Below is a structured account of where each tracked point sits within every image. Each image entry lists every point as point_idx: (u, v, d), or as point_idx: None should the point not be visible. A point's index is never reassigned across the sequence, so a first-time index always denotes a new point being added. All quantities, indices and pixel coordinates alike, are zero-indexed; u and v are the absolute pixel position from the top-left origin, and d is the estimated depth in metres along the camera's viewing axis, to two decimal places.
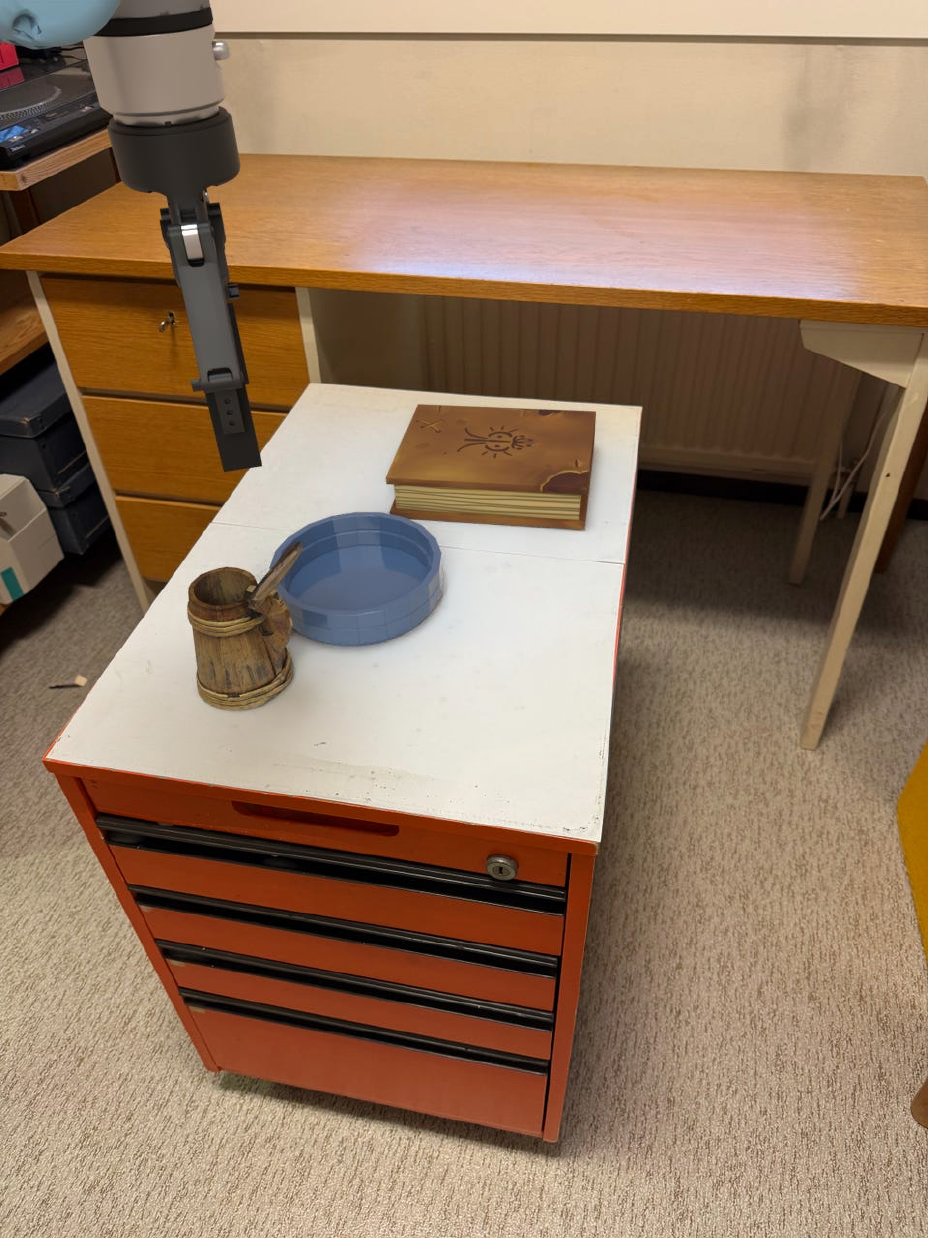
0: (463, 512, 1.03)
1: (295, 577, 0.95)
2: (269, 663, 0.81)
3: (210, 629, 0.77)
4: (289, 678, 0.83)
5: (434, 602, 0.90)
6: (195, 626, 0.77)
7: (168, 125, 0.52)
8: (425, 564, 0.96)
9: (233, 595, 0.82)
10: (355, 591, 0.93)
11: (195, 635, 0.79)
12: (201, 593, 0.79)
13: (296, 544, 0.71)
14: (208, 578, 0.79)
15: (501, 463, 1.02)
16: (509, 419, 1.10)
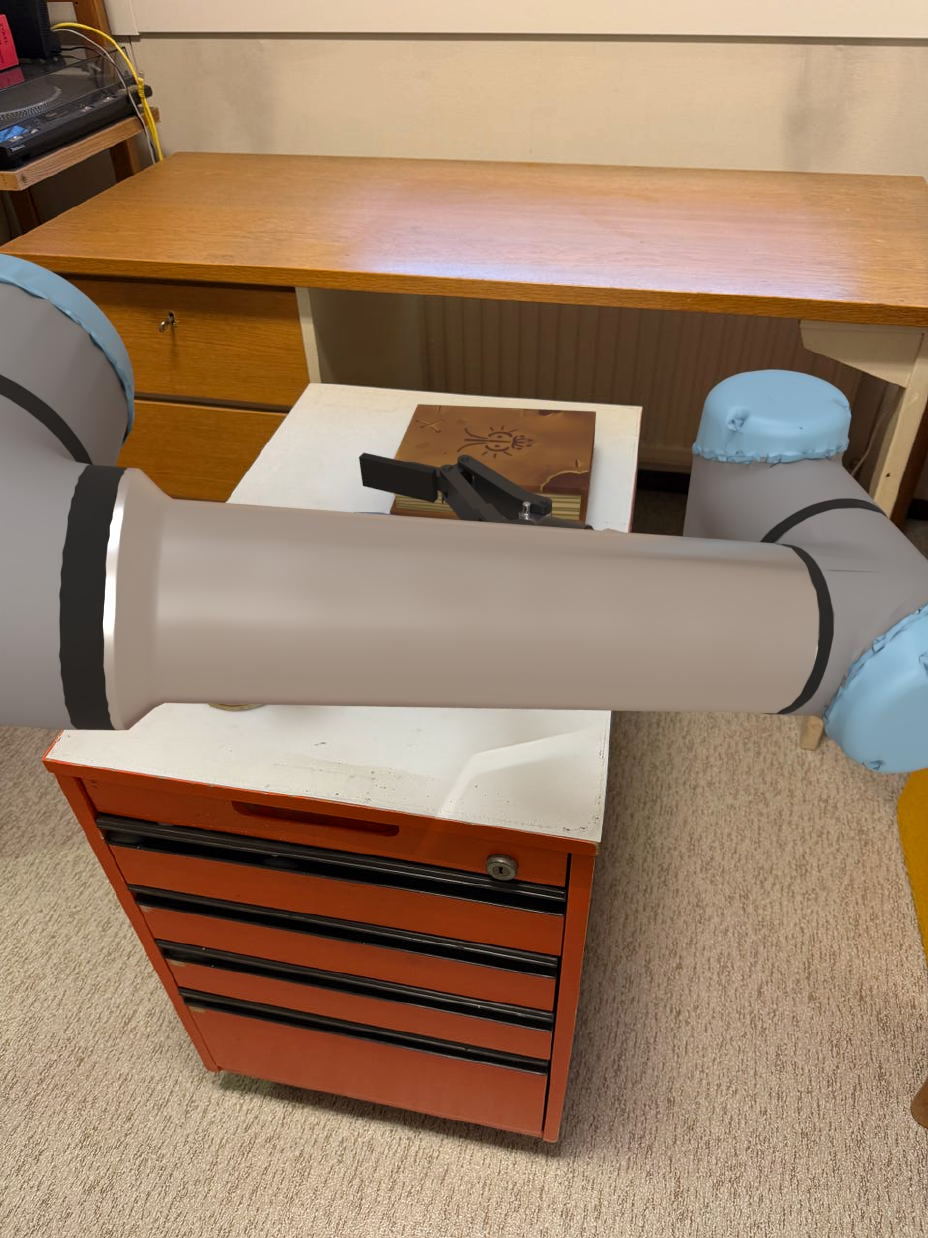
0: None
1: None
2: None
3: None
4: None
5: None
6: None
7: None
8: None
9: None
10: None
11: None
12: None
13: None
14: None
15: (501, 463, 1.02)
16: (509, 419, 1.10)
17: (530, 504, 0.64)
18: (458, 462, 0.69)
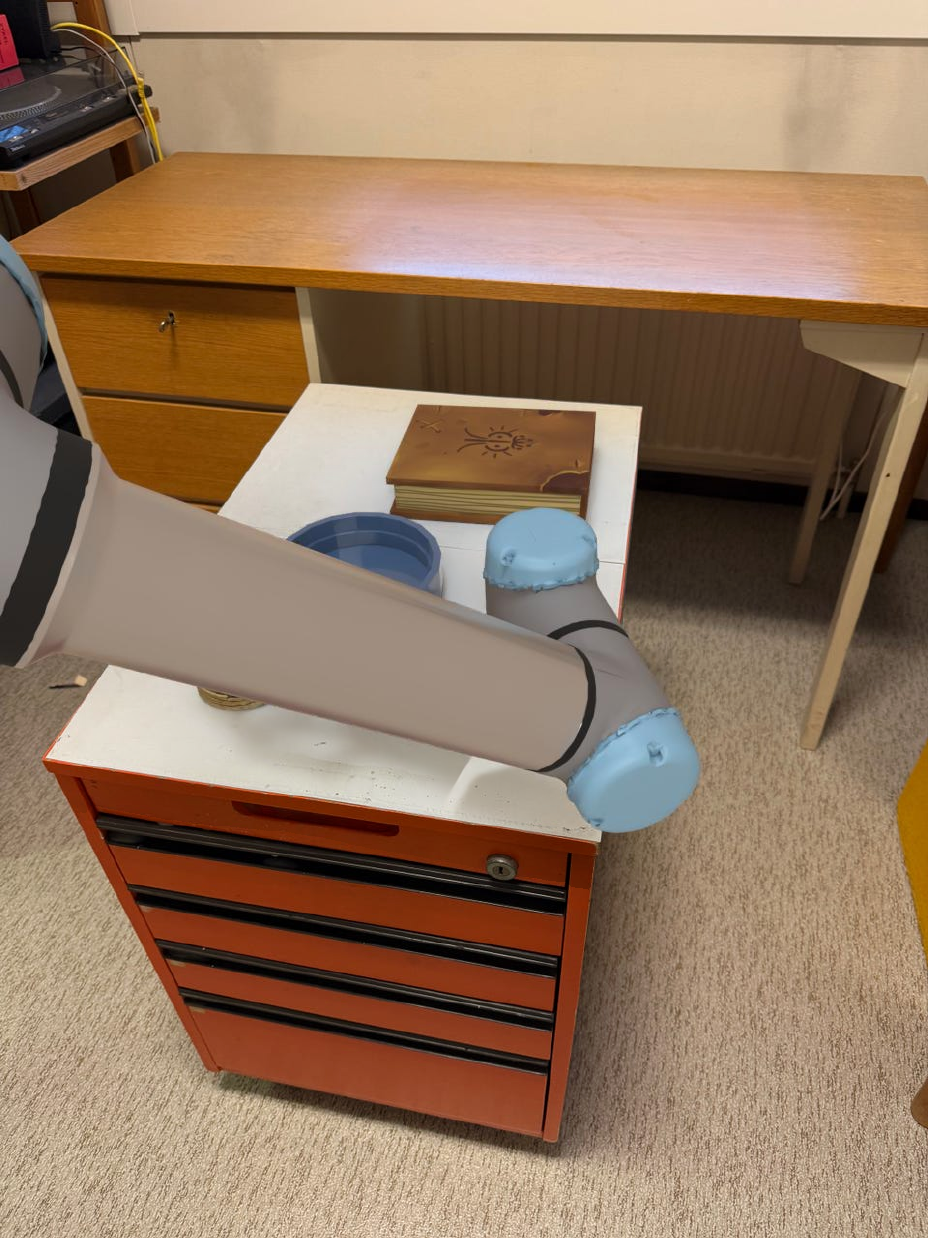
0: (463, 512, 1.03)
1: None
2: None
3: None
4: None
5: None
6: None
7: None
8: (425, 564, 0.96)
9: None
10: None
11: None
12: None
13: None
14: None
15: (501, 463, 1.02)
16: (509, 419, 1.10)
17: None
18: None
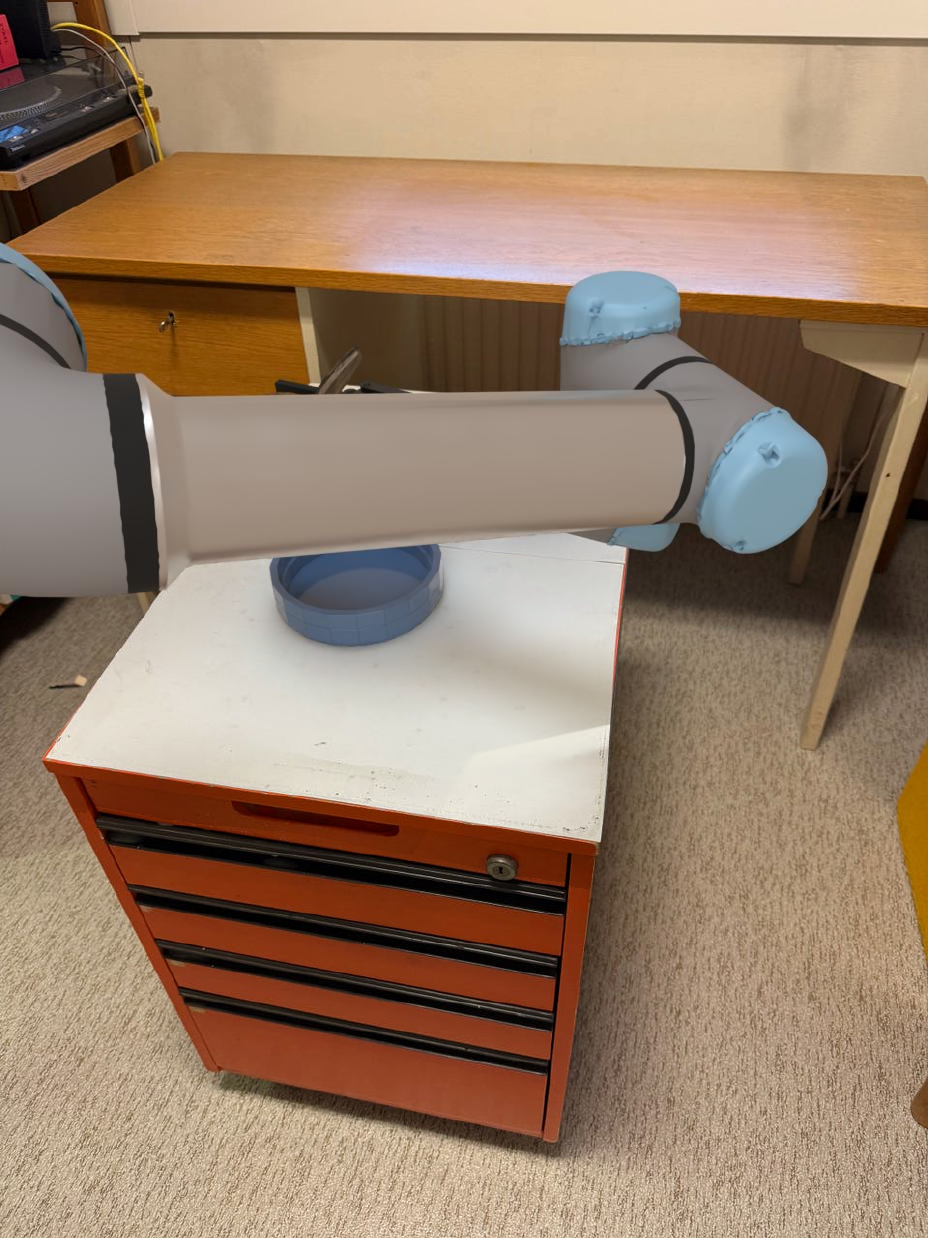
0: None
1: (295, 577, 0.95)
2: None
3: None
4: None
5: (434, 602, 0.90)
6: None
7: None
8: (425, 564, 0.96)
9: None
10: (355, 591, 0.93)
11: None
12: None
13: (356, 347, 0.70)
14: None
15: None
16: None
17: None
18: (362, 388, 0.79)
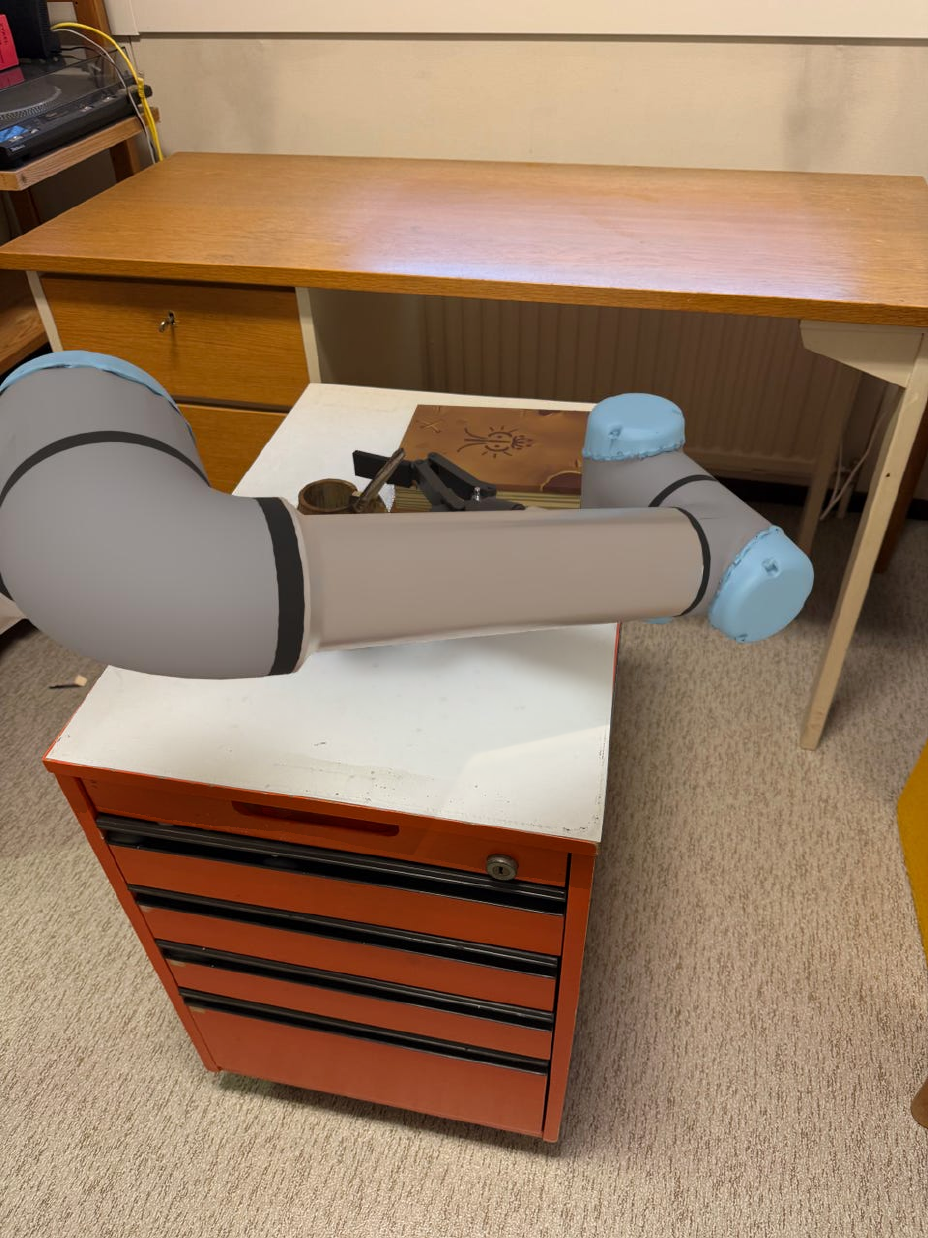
0: None
1: None
2: None
3: None
4: None
5: None
6: None
7: None
8: None
9: (333, 505, 0.91)
10: None
11: None
12: (307, 501, 0.89)
13: (402, 448, 0.81)
14: (313, 488, 0.89)
15: (501, 463, 1.02)
16: (509, 419, 1.10)
17: (480, 489, 0.85)
18: (428, 457, 0.90)
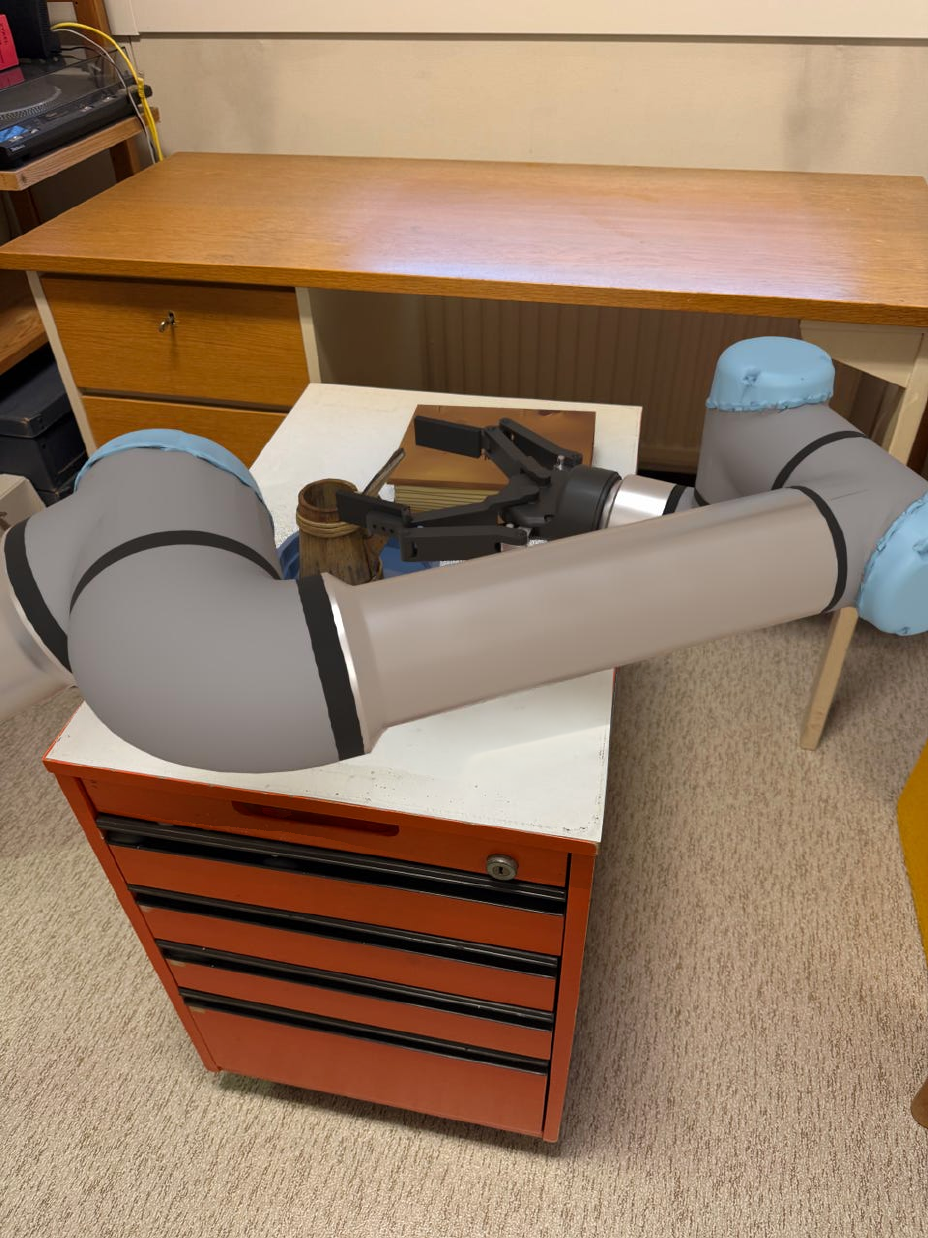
0: None
1: (295, 577, 0.95)
2: (367, 566, 0.90)
3: (319, 530, 0.86)
4: None
5: None
6: (304, 528, 0.87)
7: None
8: (425, 564, 0.96)
9: (333, 505, 0.91)
10: None
11: (302, 538, 0.88)
12: (307, 501, 0.89)
13: (402, 448, 0.81)
14: (313, 488, 0.89)
15: None
16: None
17: (564, 457, 0.75)
18: (500, 424, 0.80)
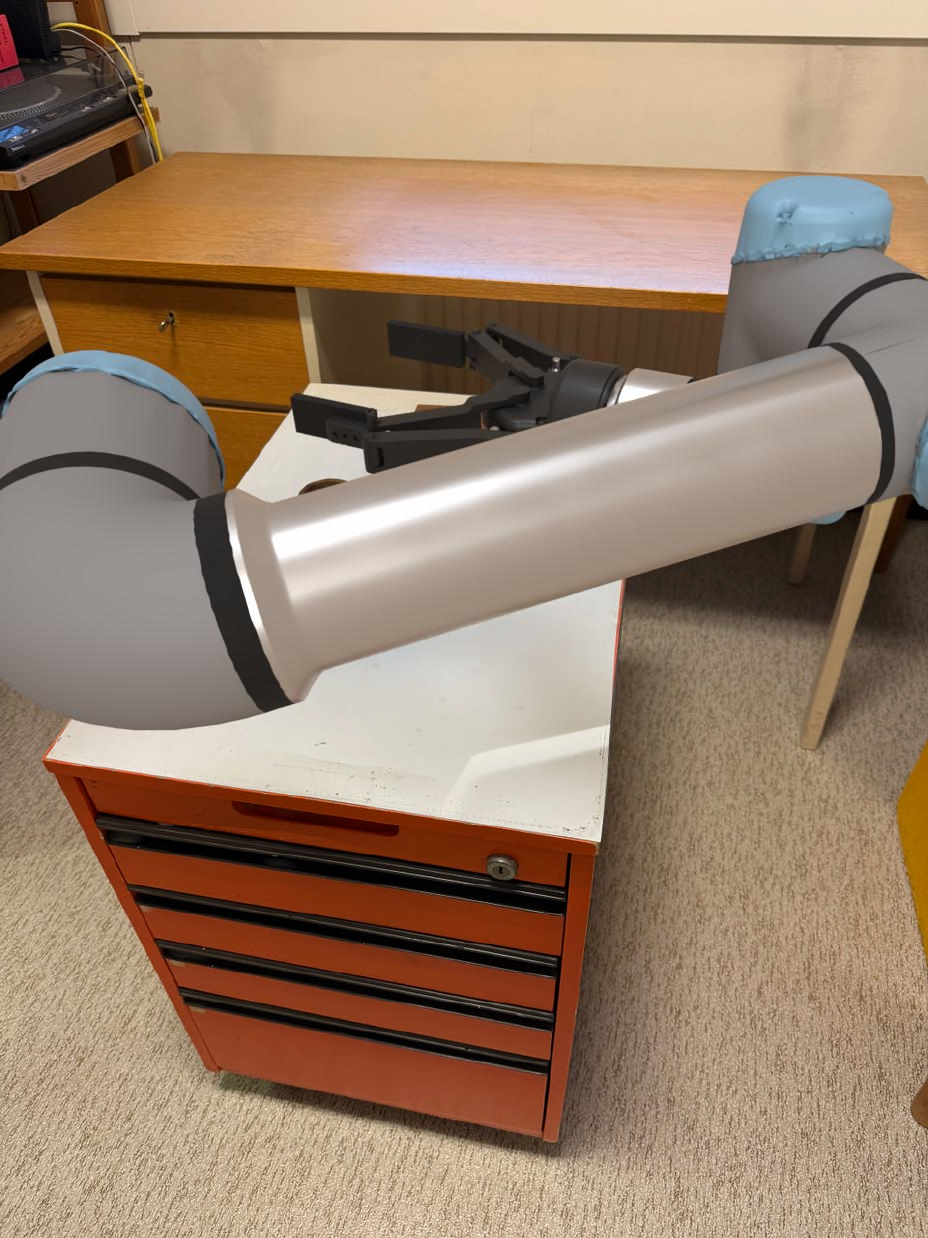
0: None
1: None
2: None
3: None
4: None
5: None
6: None
7: None
8: None
9: None
10: None
11: None
12: None
13: None
14: (313, 488, 0.89)
15: None
16: None
17: (560, 359, 0.64)
18: (486, 327, 0.69)
